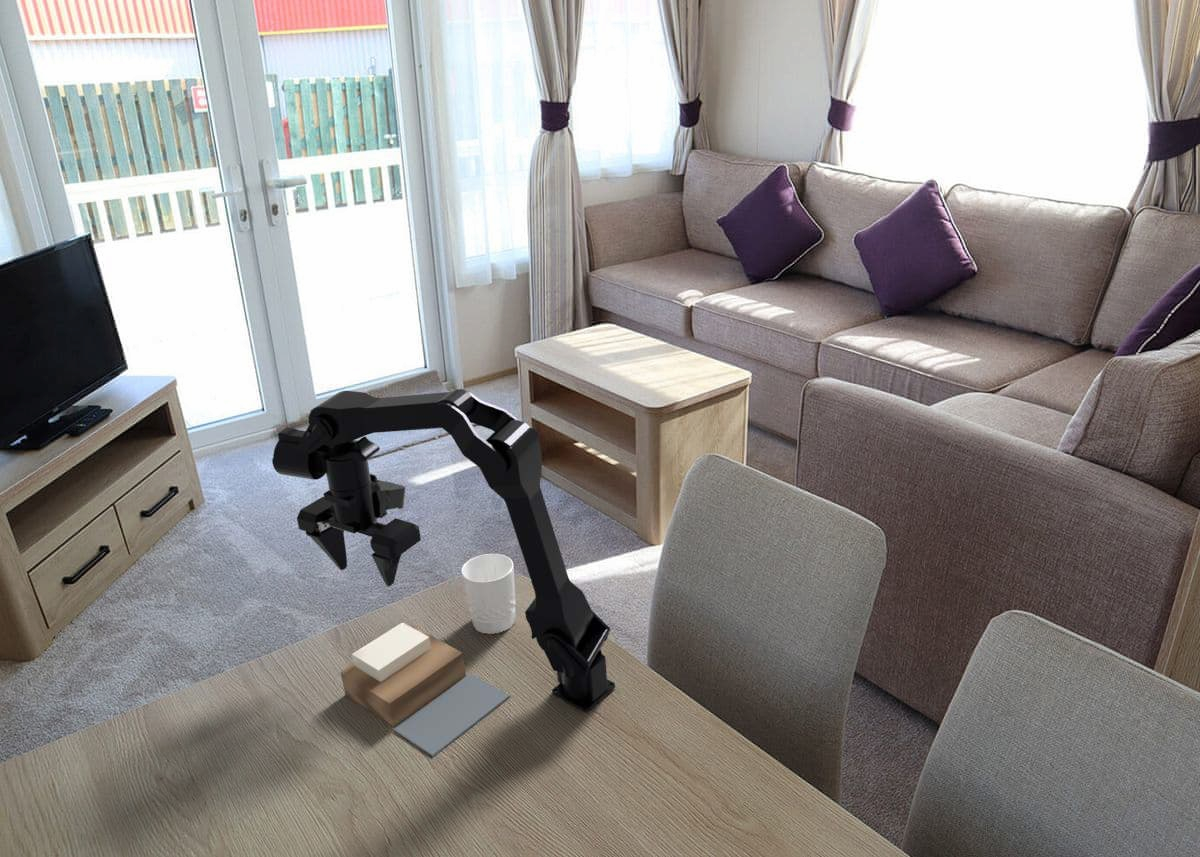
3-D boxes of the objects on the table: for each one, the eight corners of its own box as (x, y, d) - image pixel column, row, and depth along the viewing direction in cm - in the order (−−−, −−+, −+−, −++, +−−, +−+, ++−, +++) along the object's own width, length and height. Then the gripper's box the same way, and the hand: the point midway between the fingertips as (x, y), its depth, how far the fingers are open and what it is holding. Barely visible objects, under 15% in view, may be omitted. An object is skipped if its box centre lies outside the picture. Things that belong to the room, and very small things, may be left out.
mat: (510, 697, 128) (509, 695, 128) (432, 756, 118) (432, 755, 118) (470, 674, 133) (470, 673, 133) (393, 730, 123) (393, 728, 123)
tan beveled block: (465, 675, 133) (462, 652, 131) (394, 726, 124) (389, 703, 122) (416, 647, 139) (412, 625, 138) (345, 694, 131) (340, 671, 129)
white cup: (501, 600, 149) (494, 547, 145) (529, 621, 144) (523, 567, 140) (459, 621, 145) (451, 567, 141) (487, 643, 139) (479, 588, 135)
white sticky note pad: (431, 648, 132) (429, 637, 132) (380, 682, 126) (378, 670, 126) (404, 633, 136) (402, 622, 135) (354, 665, 130) (351, 654, 129)
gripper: (439, 471, 130) (451, 565, 136) (342, 446, 138) (358, 535, 145) (384, 506, 121) (400, 605, 127) (285, 477, 130) (305, 571, 136)
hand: (366, 576), depth 134 cm, fingers open, 9 cm apart
